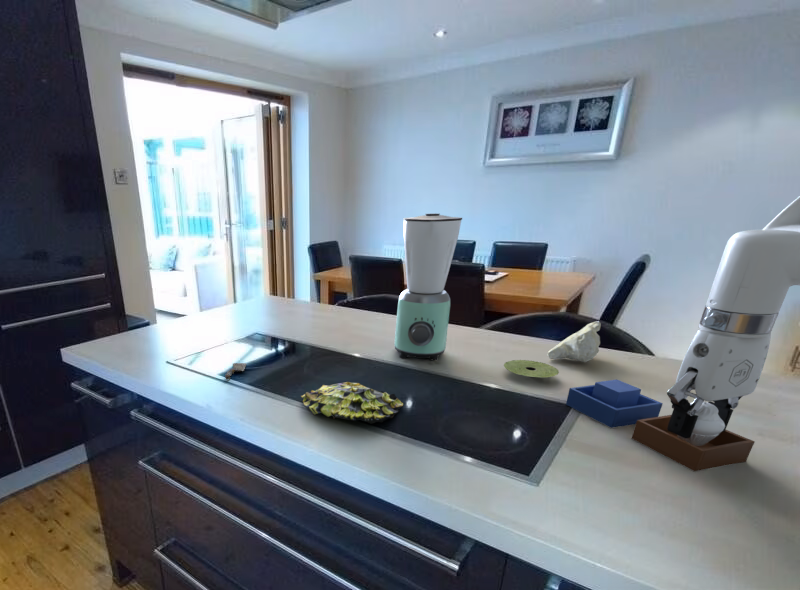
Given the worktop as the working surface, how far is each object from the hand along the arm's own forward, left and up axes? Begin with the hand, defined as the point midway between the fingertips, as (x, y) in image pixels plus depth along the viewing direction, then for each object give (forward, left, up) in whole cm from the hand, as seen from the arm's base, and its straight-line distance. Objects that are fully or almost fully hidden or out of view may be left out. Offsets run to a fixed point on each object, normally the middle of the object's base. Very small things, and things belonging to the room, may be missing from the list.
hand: (695, 430), depth 70 cm
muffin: (0, 0, -2) cm, 2 cm away
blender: (+17, -56, -4) cm, 59 cm away
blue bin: (0, -14, -4) cm, 15 cm away
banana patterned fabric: (+47, -30, -4) cm, 56 cm away
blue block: (0, -14, -3) cm, 14 cm away
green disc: (+1, -34, -4) cm, 34 cm away
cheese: (-19, -42, -4) cm, 46 cm away
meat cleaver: (+67, -56, -4) cm, 88 cm away
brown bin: (0, 0, -4) cm, 4 cm away
